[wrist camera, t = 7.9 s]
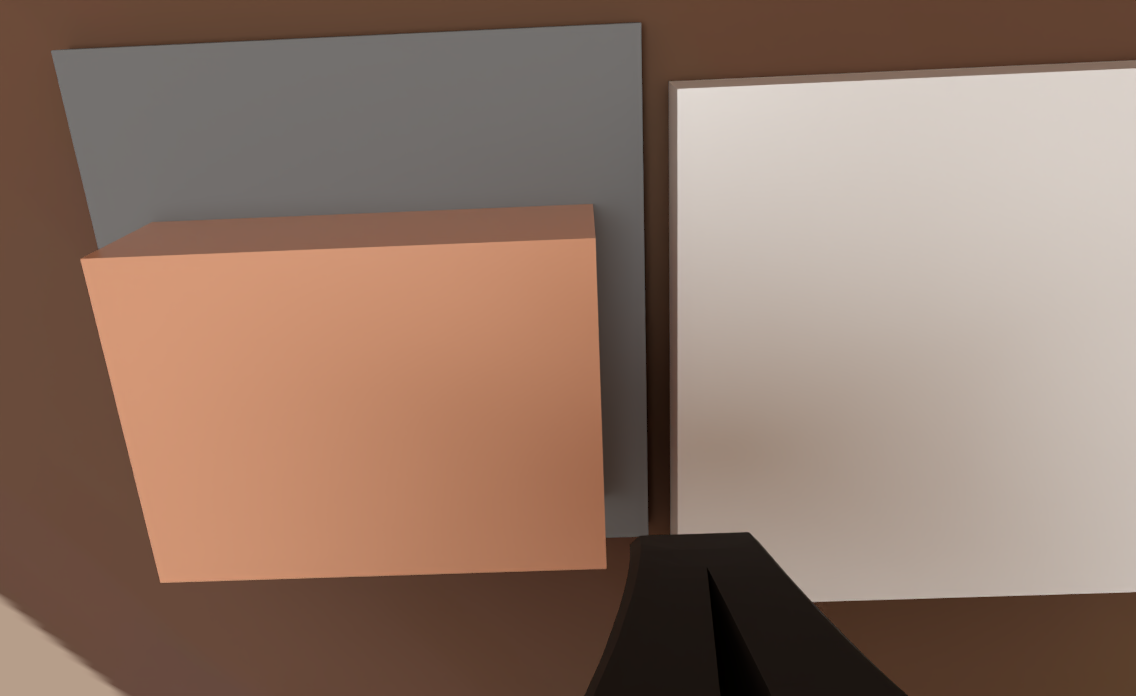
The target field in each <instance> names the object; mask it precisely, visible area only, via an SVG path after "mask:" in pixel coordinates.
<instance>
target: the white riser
mask: <svg viewBox="0 0 1136 696" xmlns="http://www.w3.org/2000/svg"><path fill="white" fill-rule="evenodd" d="M669 327H670V535H674V534H704V533H735V532H749V533H750V534H751V535H752V536H753V537H755V538H756V539H757V540H758V541H759V543H760V544H761V545H762V546H763V547H764V548H765V549H766V551H767V552H768V553H769V554H770V555H771V556H772V558H773V559H774V560H775V561H776V562H777V563H778V565H779V566H780V567H781V568H782V569H783V570H784V571H785V573H786V574H787V575H788V576H789V577H790V578H791V579H792V580H793V582H794V583H795V584H796V585H797V586H798V587H799V588H800V589H801V590H802V591H803V593H804V594H805V595H806V596H807V597H808V598H809V599H810V600H811V601H812V602H827V601H859V600H892V599H925V598H957V597H990V596H1022V595H1055V594H1087V593H1120V592H1136V60H1128V61H1106V62H1084V63H1062V64H1040V65H1018V66H996V67H974V68H952V69H930V70H908V71H886V72H864V73H842V74H820V75H797V76H775V77H753V78H731V79H709V80H687V81H669Z"/></svg>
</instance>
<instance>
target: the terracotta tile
mask: <svg viewBox="0 0 1136 696" xmlns="http://www.w3.org/2000/svg"><path fill="white" fill-rule="evenodd" d="M81 263H82V267H83V271H84V275H85V279H86V283H87V287H88V291H89V296H90V300H91V304H92V308H93V312H94V316H95V320H96V324H97V328H98V332H99V336H100V340H101V344H102V348H103V352H104V356H105V360H106V364H107V368H108V372H109V376H110V380H111V384H112V388H113V392H114V397H115V401H116V405H117V409H118V413H119V417H120V421H121V425H122V429H123V433H124V437H125V441H126V445H127V449H128V453H129V457H130V461H131V465H132V469H133V473H134V477H135V481H136V485H137V489H138V493H139V498H140V502H141V506H142V510H143V514H144V518H145V522H146V526H147V530H148V534H149V538H150V542H151V546H152V550H153V554H154V558H155V562H156V566H157V570H158V574H159V578H160V582H161V583H167V582H199V581H231V580H263V579H295V578H327V577H359V576H392V575H424V574H456V573H488V572H520V571H552V570H584V569H607V566H606V536H605V506H604V476H603V446H602V416H601V386H600V356H599V327H598V297H597V267H596V238H595V225H594V212H593V204H578V205H554V206H530V207H506V208H481V209H457V210H433V211H409V212H385V213H361V214H336V215H312V216H288V217H264V218H240V219H215V220H191V221H167V222H151V223H149V224H147V225H145V226H143V227H141V228H140V229H138V230H136V231H134V232H132V233H130V234H128V235H126V236H124V237H122V238H120V239H118V240H116V241H114V242H112V243H110V244H108V245H106V246H105V247H103V248H101V249H99V250H97V251H95V252H93V253H91V254H89V255H87V256H85V257H83V258H81Z"/></svg>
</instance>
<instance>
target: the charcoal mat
mask: <svg viewBox="0 0 1136 696" xmlns="http://www.w3.org/2000/svg"><path fill="white" fill-rule="evenodd" d="M51 53H52V57H53V61H54V66H55V70H56V74H57V78H58V82H59V86H60V91H61V95H62V99H63V103H64V107H65V112H66V116H67V120H68V124H69V128H70V132H71V137H72V141H73V145H74V149H75V153H76V157H77V162H78V166H79V170H80V174H81V178H82V182H83V187H84V191H85V195H86V199H87V203H88V207H89V212H90V216H91V220H92V224H93V228H94V232H95V237H96V241H97V245H98V249H101V248H103V247H105V246H106V245H108V244H110V243H112V242H114V241H116V240H118V239H120V238H122V237H124V236H126V235H128V234H130V233H132V232H134V231H136V230H138V229H140V228H141V227H143V226H145V225H147V224H149V223H151V222H167V221H191V220H215V219H240V218H264V217H288V216H312V215H336V214H361V213H385V212H409V211H433V210H457V209H481V208H506V207H530V206H554V205H578V204H593V212H594V225H595V238H596V267H597V297H598V327H599V356H600V386H601V416H602V446H603V476H604V506H605V536H606V538H614V537H639V536H643V535H648V472H647V402H646V331H645V261H644V191H643V120H642V50H641V23H640V22H634V23H613V24H591V25H570V26H549V27H528V28H506V29H485V30H464V31H443V32H422V33H400V34H379V35H358V36H337V37H315V38H294V39H273V40H252V41H230V42H209V43H188V44H167V45H145V46H124V47H103V48H82V49H63V50H52V51H51Z"/></svg>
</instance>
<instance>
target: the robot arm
mask: <svg viewBox="0 0 1136 696" xmlns="http://www.w3.org/2000/svg"><path fill="white" fill-rule="evenodd" d="M585 696H908V695H907V694H905V693H904V692H903V691H902V690H901V689H900V688H899V687H898V686H896V685H895V684H894V683H893V682H892V681H891V680H890V679H889V678H888V677H887V676H885V675H884V674H883V673H882V672H881V671H880V670H879V669H878V668H877V667H876V666H875V665H874V664H873V663H872V662H871V661H870V660H869V659H868V658H867V657H865V656H864V655H863V654H862V653H861V652H860V651H859V650H858V649H857V648H856V647H855V646H854V645H853V643H852V642H851V641H850V640H849V639H848V638H847V637H846V636H845V635H844V634H843V633H842V632H841V631H840V630H839V629H838V628H837V627H836V626H835V625H834V624H833V623H832V622H831V621H830V620H829V619H828V618H827V617H826V616H825V615H824V614H823V613H822V612H821V611H820V610H819V609H818V608H817V607H816V606H815V605H814V604H813V602H812V601H811V600H810V599H809V598H808V597H807V596H806V595H805V594H804V593H803V591H802V590H801V589H800V588H799V587H798V586H797V585H796V584H795V583H794V582H793V580H792V579H791V578H790V577H789V576H788V575H787V574H786V573H785V571H784V570H783V569H782V568H781V567H780V566H779V565H778V563H777V562H776V561H775V560H774V559H773V558H772V556H771V555H770V554H769V553H768V552H767V551H766V549H765V548H764V547H763V546H762V545H761V544H760V543H759V541H758V540H757V539H756V538H755V537H753V536H752V535H751V534H750V533H749V532H735V533H704V534H674V535H643V536H639V537H638V538H637V539H636V540H634V541H633V542H632V543H631V544H630V564H629V571H628V577H627V581H626V586H625V590H624V593H623V597H622V601H621V604H620V608H619V611H618V614H617V616H616V619H615V622H614V625H613V628H612V631H611V633H610V636H609V639H608V642H607V645H606V648H605V650H604V653H603V655H602V658H601V660H600V663H599V665H598V667H597V669H596V671H595V674H594V676H593V678H592V680H591V682H590V685H589V687H588V689H587V691H586V693H585Z"/></svg>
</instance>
